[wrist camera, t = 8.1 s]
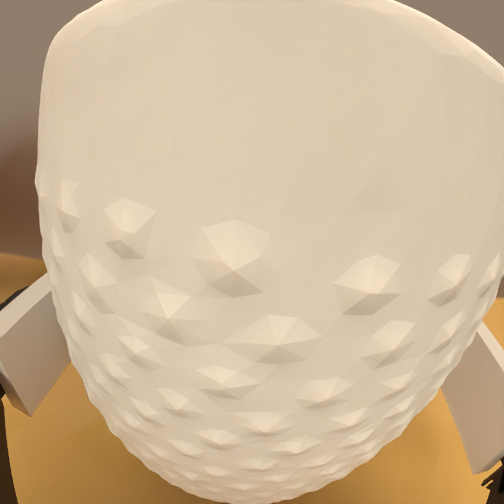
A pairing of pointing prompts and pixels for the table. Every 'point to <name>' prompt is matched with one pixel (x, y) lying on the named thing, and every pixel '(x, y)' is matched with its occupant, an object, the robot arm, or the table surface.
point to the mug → (267, 228)
